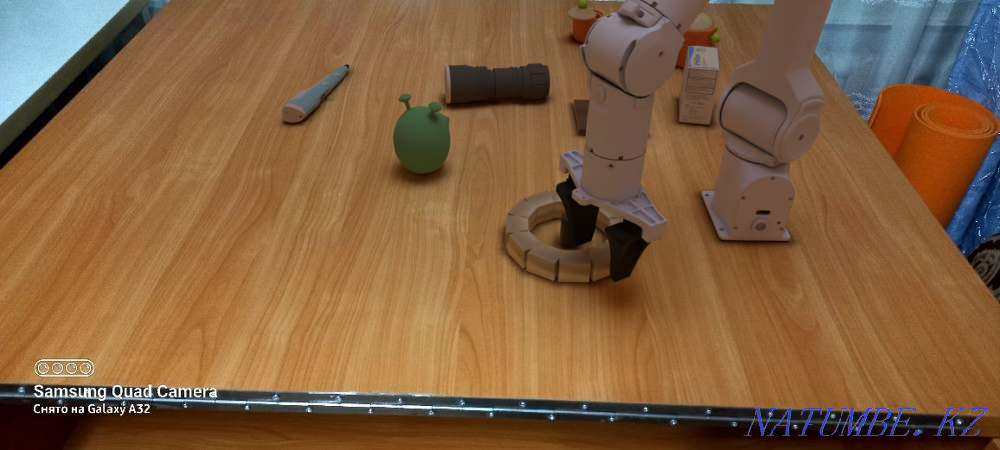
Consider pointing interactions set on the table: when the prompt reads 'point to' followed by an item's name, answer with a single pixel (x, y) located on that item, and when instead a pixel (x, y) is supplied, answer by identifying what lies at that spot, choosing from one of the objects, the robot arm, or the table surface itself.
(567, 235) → the low peg
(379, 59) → the table surface
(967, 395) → the table surface
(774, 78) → the robot arm
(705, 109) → the medicine box
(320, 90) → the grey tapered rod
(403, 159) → the alien toy
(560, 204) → the ring
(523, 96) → the flashlight
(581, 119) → the stand
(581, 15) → the toy tea set
